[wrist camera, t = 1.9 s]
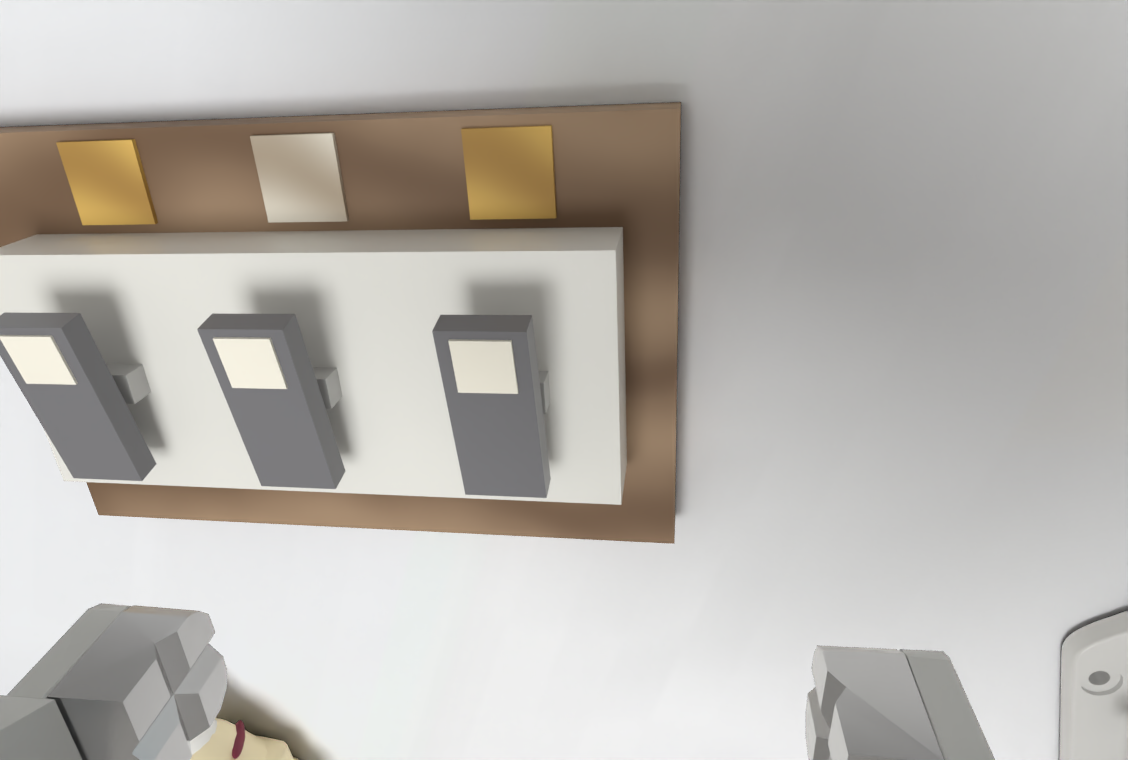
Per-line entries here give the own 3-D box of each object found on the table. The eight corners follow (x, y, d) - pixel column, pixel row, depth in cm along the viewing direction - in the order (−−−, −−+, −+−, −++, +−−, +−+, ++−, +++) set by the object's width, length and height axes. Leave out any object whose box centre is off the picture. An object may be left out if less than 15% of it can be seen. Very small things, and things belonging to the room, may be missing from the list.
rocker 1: (156, 463, 31) (140, 482, 30) (89, 461, 31) (71, 479, 30) (79, 312, 27) (59, 329, 26) (4, 312, 27) (-19, 328, 26)
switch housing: (626, 463, 32) (619, 520, 29) (110, 445, 36) (46, 494, 32) (622, 227, 28) (613, 259, 24) (37, 234, 32) (-47, 263, 28)
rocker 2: (345, 471, 30) (334, 491, 29) (273, 468, 30) (260, 488, 29) (295, 313, 26) (281, 331, 25) (212, 313, 26) (195, 330, 25)
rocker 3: (550, 479, 28) (546, 499, 28) (471, 475, 29) (464, 496, 28) (532, 315, 24) (526, 333, 23) (440, 314, 25) (431, 332, 24)
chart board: (675, 516, 35) (674, 546, 33) (125, 492, 40) (96, 517, 38) (681, 102, 28) (680, 109, 26) (-3, 127, 32) (-48, 135, 30)
